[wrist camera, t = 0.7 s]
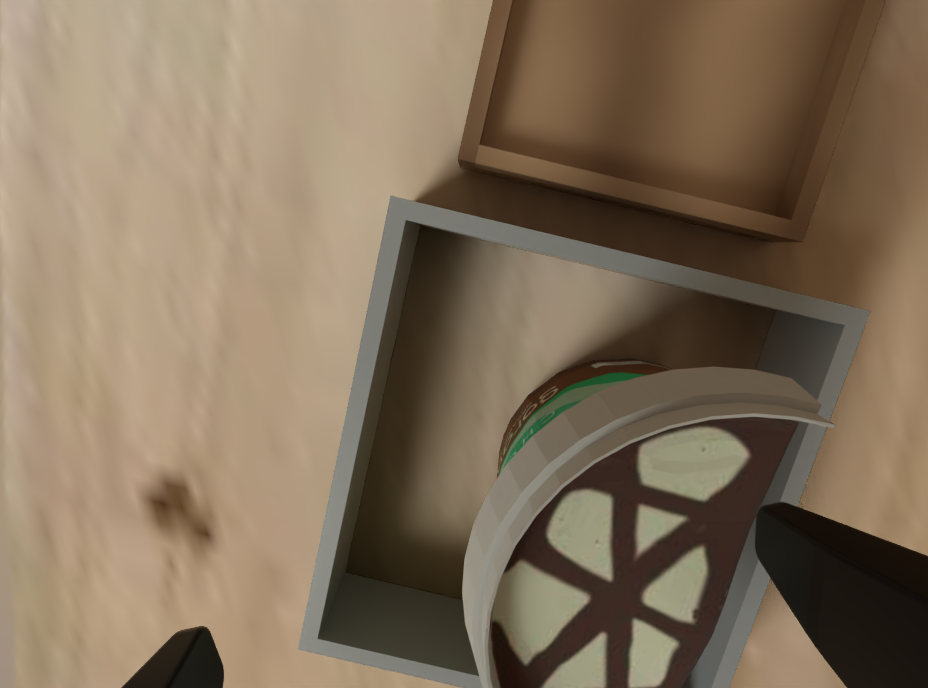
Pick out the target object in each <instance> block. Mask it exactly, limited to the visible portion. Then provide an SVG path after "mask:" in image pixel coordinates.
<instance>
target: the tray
mask: <svg viewBox="0 0 928 688" xmlns="http://www.w3.org/2000/svg"><path fill="white" fill-rule="evenodd" d="M884 3H885V0H493V3H492V7H491V12H490V16H489V21H488V25H487V30H486V34H485V39H484V43H483V48H482V52H481V57H480V61H479V66H478V70H477V75H476V79H475V84H474V88H473V93H472V97H471V102H470V106H469V111H468V115H467V120H466V124H465V128H464V133H463V137H462V142H461V146H460V151H459V155H458V161H459V165H460V167H461V168H465V169H469V170H473V171H477V172H481V173H485V174H490V175H494V176H498V177H502V178H506V179H510V180H515V181H519V182H523V183H527V184H531V185H535V186H539V187H544V188H548V189H552V190H556V191H560V192H564V193H568V194H573V195H577V196H581V197H585V198H589V199H593V200H598V201H602V202H606V203H610V204H614V205H618V206H622V207H627V208H631V209H635V210H639V211H643V212H647V213H651V214H656V215H660V216H664V217H668V218H672V219H676V220H681V221H685V222H689V223H693V224H697V225H701V226H705V227H710V228H714V229H718V230H722V231H726V232H730V233H735V234H739V235H743V236H747V237H751V238H755V239H759V240H764V241H768V242H803V239H804V236H805V233H806V230H807V227H808V224H809V221H810V219H811V216H812V213H813V210H814V207H815V204H816V201H817V198H818V195H819V192H820V189H821V187H822V184H823V181H824V178H825V175H826V172H827V169H828V166H829V163H830V160H831V157H832V155H833V152H834V149H835V146H836V143H837V140H838V137H839V134H840V131H841V128H842V125H843V123H844V120H845V117H846V114H847V111H848V108H849V105H850V102H851V99H852V96H853V93H854V91H855V88H856V85H857V82H858V79H859V76H860V73H861V70H862V67H863V64H864V62H865V59H866V56H867V53H868V50H869V47H870V44H871V41H872V38H873V35H874V32H875V30H876V27H877V24H878V21H879V18H880V15H881V12H882V9H883V6H884Z"/></svg>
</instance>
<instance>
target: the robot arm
mask: <svg viewBox="0 0 928 688" xmlns="http://www.w3.org/2000/svg"><path fill="white" fill-rule="evenodd" d="M755 551H756V554H757V557H758V559H759V561H760V563H761V564H762V566H763V567H764V569H765V570H766V572H767V574H768V575H769V577H770V578H771V580H772V581H773V583H774V584H775V586H776V587H777V589H778V590H779V592H780V594H781V595H782V597H783V598H784V600H785V601H786V603H787V604H788V606H789V607H790V609H791V610H792V612H793V614H794V615H795V617H796V618H797V620H798V621H799V623H800V624H801V626H802V627H803V629H804V630H805V632H806V634H807V635H808V636H809V638H810V639H811V641H812V642H813V644H814V645H815V647H816V648H817V649H818V651H819V652H820V653H821V655H822V656H823V657H824V659H825V660H826V661H827V663H828V664H829V665H830V666H831V668H832V669H833V670H834V671H835V673H836V674H837V675H838V677H839V678H840V679H841V680H842V682H843V683H844V684H845V686H846V687H847V688H928V556H926V555H924V554H921V553H918V552H916V551H913V550H910V549H908V548H905V547H903V546H900V545H897V544H895V543H892V542H889V541H887V540H884V539H881V538H879V537H876V536H873V535H871V534H868V533H865V532H863V531H860V530H858V529H855V528H852V527H850V526H847V525H844V524H842V523H839V522H836V521H834V520H831V519H828V518H826V517H823V516H820V515H818V514H815V513H812V512H810V511H807V510H805V509H802V508H799V507H797V506H794V505H791V504H789V503H786V502H776V503H772V504H767V505H763V506H760V507H759V508H758V510H757V512H756V526H755ZM223 682H224V669H223V664H222V661H221V659H220V656H219V653H218V651H217V648H216V646H215V643H214V640H213V638H212V635H211V633H210V631H209V629H208V628H207V627H204V626H199V627H194V628H190V629H185V630H181V631H178V632H177V633H175V634H174V635H173V636H172V637H171V638H170V639H169V640H168V641H167V642H166V643H165V644H164V645H163V646H162V647H161V648H160V649H159V650H158V651H157V652H156V653H155V654H154V655H153V656H152V657H151V658H150V659H149V660H148V661H147V662H146V663H145V664H144V665H143V666H142V667H141V668H140V669H139V670H138V671H137V672H136V673H135V674H134V675H133V676H132V677H131V678H130V680H129V681H128V682H127V683H126V684H125V685H124V686H123V687H122V688H223Z"/></svg>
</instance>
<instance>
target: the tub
mask: <svg viewBox="0 0 928 688" xmlns="http://www.w3.org/2000/svg"><path fill="white" fill-rule="evenodd" d="M420 225H421V226H425V227H430V228H434V229H438V230H442V231H446V232H451V233H455V234H459V235H463V236H467V237H471V238H476V239H480V240H484V241H488V242H492V243H496V244H501V245H505V246H509V247H513V248H517V249H521V250H526V251H530V252H534V253H538V254H542V255H546V256H551V257H555V258H559V259H563V260H567V261H572V262H576V263H580V264H584V265H588V266H592V267H597V268H601V269H605V270H609V271H613V272H617V273H622V274H626V275H630V276H634V277H638V278H642V279H647V280H651V281H655V282H659V283H663V284H667V285H672V286H676V287H680V288H684V289H688V290H692V291H697V292H701V293H705V294H709V295H713V296H718V297H722V298H726V299H730V300H734V301H738V302H743V303H747V304H751V305H755V306H759V307H763V308H768V309H772V310H776V312H775V314H774V317H773V320H772V323H771V326H770V329H769V332H768V335H767V338H766V341H765V344H764V347H763V349H762V352H761V355H760V358H759V361H758V364H757V367H756V370H758V371H762V372H767V373H771V374H775V375H780V376H784V377H789V378H792V379H793V380H794V381H795V382H796V383H798V384H799V385H800V386H801V387H802V388H803V389H804V390H805V391H807V392H808V393H809V394H810V395H811V396H812V397H813V398H814V399H816V400H817V401H818V402H819V403H820V404H821V405H822V406H821V408H820V410H819V412H818V413H817V414H818V415H820V416H821V417H823V418H825V419H826V420H828V421H830V418H831V415H832V413H833V410H834V407H835V405H836V402H837V399H838V397H839V394H840V391H841V389H842V386H843V383H844V381H845V378H846V375H847V373H848V370H849V367H850V365H851V362H852V359H853V357H854V354H855V351H856V349H857V346H858V343H859V341H860V338H861V335H862V333H863V330H864V327H865V325H866V322H867V319H868V317H869V314H870V311H869V310H864V309H860V308H856V307H852V306H848V305H844V304H840V303H835V302H831V301H827V300H823V299H819V298H815V297H810V296H806V295H802V294H798V293H794V292H790V291H785V290H781V289H777V288H773V287H769V286H765V285H760V284H756V283H752V282H748V281H744V280H740V279H735V278H731V277H727V276H723V275H719V274H715V273H710V272H706V271H702V270H698V269H694V268H690V267H685V266H681V265H677V264H673V263H669V262H665V261H660V260H656V259H652V258H648V257H644V256H640V255H635V254H631V253H627V252H623V251H619V250H615V249H610V248H606V247H602V246H598V245H594V244H590V243H585V242H581V241H577V240H573V239H569V238H565V237H560V236H556V235H552V234H548V233H544V232H540V231H535V230H531V229H527V228H523V227H519V226H515V225H510V224H506V223H502V222H498V221H494V220H490V219H485V218H481V217H477V216H473V215H469V214H465V213H460V212H456V211H452V210H448V209H444V208H440V207H435V206H431V205H427V204H423V203H419V202H415V201H411V200H406V199H402V198H398V197H394V196H390V201H389V206H388V211H387V216H386V221H385V226H384V231H383V236H382V241H381V245H380V250H379V255H378V260H377V265H376V270H375V275H374V280H373V285H372V290H371V295H370V299H369V304H368V309H367V314H366V319H365V324H364V329H363V334H362V339H361V344H360V348H359V353H358V358H357V363H356V368H355V373H354V378H353V383H352V388H351V393H350V398H349V402H348V407H347V412H346V417H345V422H344V427H343V432H342V437H341V442H340V447H339V451H338V456H337V461H336V466H335V471H334V476H333V481H332V486H331V491H330V496H329V501H328V505H327V510H326V515H325V520H324V525H323V530H322V535H321V540H320V545H319V550H318V554H317V559H316V564H315V569H314V574H313V579H312V584H311V589H310V594H309V599H308V604H307V608H306V613H305V618H304V623H303V628H302V633H301V638H300V643H299V648H298V650H303V651H307V652H311V653H316V654H320V655H324V656H329V657H333V658H337V659H342V660H346V661H350V662H354V663H359V664H363V665H367V666H372V667H376V668H380V669H385V670H389V671H393V672H398V673H402V674H406V675H411V676H415V677H419V678H424V679H428V680H432V681H437V682H441V683H445V684H450V685H454V686H458V687H463V688H482V684H481V680H480V677H479V673H478V669H477V666H476V662H475V658H474V655H473V651H472V647H471V643H470V640H469V636H468V632H467V629H466V625H465V617H464V607H463V600H461V599H456V598H452V597H448V596H443V595H439V594H435V593H431V592H426V591H422V590H418V589H413V588H409V587H405V586H401V585H396V584H392V583H388V582H383V581H379V580H375V579H371V578H366V577H362V576H358V575H353V574H349V573H345V571H346V567H347V562H348V558H349V553H350V548H351V544H352V539H353V534H354V530H355V525H356V520H357V516H358V511H359V507H360V502H361V497H362V493H363V488H364V483H365V479H366V474H367V469H368V465H369V460H370V455H371V451H372V446H373V442H374V437H375V432H376V428H377V423H378V418H379V414H380V409H381V404H382V400H383V395H384V391H385V386H386V381H387V377H388V372H389V367H390V363H391V358H392V353H393V349H394V344H395V340H396V335H397V330H398V326H399V321H400V316H401V312H402V307H403V302H404V298H405V293H406V289H407V284H408V279H409V275H410V270H411V265H412V261H413V256H414V251H415V247H416V242H417V238H418V233H419V228H420ZM826 429H827V427H825V426H820V425H816V424H811V423H807V422H802V421H800V422H799V424H798V426H797V428H796V430H795V433H794V435H793V437H792V439H791V441H790V443H789V445H788V447H787V450H786V452H785V454H784V456H783V458H782V460H781V462H780V465H779V467H778V469H777V471H776V473H775V476H774V478H773V480H772V482H771V484H770V487H769V489H768V491H767V493H766V495H765V498H764V500H763V502H762V504H761V506H763V505H767V504H772V503H776V502H786V503H789V504H791V505H794V506H798V503H799V501H800V498H801V495H802V493H803V490H804V487H805V485H806V482H807V479H808V477H809V474H810V471H811V469H812V466H813V463H814V461H815V458H816V455H817V453H818V450H819V447H820V445H821V442H822V439H823V437H824V434H825V431H826ZM755 526H756V518H755V520H754V522H753V524H752V526H751V529H750V531H749V534H748V537H747V540H746V542H745V545H744V548H743V551H742V553H741V556H740V559H739V562H738V565H737V568H736V571H735V574H734V577H733V580H732V583H731V586H730V589H729V592H728V595H727V598H726V601H725V604H724V607H723V609H722V612H721V615H720V617H719V620H718V623H717V625H716V628H715V631H714V633H713V635H712V637H711V639H710V641H709V643H708V644H707V646H706V648H705V650H704V651H703V653H702V655H701V657H700V658H699V660H698V662H697V664H696V665H695V667H694V669H693V670H692V672H691V673H690V675H689V676H688V678H687V680H686V681H685V683H684V684H683V686H682V687H681V688H729V687H730V684H731V682H732V679H733V677H734V674H735V671H736V669H737V666H738V663H739V661H740V658H741V655H742V653H743V650H744V647H745V645H746V642H747V639H748V637H749V634H750V631H751V629H752V626H753V623H754V621H755V618H756V615H757V613H758V610H759V607H760V605H761V602H762V599H763V597H764V594H765V591H766V589H767V586H768V583H769V581H770V577H769V575H768V574H767V572H766V570H765V569H764V567H763V566H762V564H761V563H760V561H759V559H758V557H757V554H756V551H755Z"/></svg>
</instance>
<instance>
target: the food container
mask: <svg viewBox="0 0 928 688" xmlns="http://www.w3.org/2000/svg"><path fill="white" fill-rule="evenodd" d="M821 406H822V405H821V404H820V403H819V402H818V401H817V400H816V399H814V398H813V397H812V396H811V395H810V394H809V393H808V392H807V391H805V390H804V389H803V388H802V387H801V386H800V385H799V384H798V383H796V382H795V381H794V380H793V379H792V378H789V377H784V376H780V375H775V374H771V373H767V372H762V371H758V370H752V369H739V368H726V367H701V368H688V369H671V368H668V367H665V366H662V365H658V364H653V363H649V362H645V361H640V360H636V359H618V360H596V361H591V362H588V363H585V364H583V365H580V366H577V367H574V368H571V369H569V370H566V371H563V372H560V373H557V374H556V375H555V376H553V377H552V378H551V379H549V380H548V381H547V382H545V383H544V384H543V385H541V386H540V387H539V388H538V389H536V390H535V391H534V392H532V393H531V394H530V395H528V396H527V397H526V399H525V400H524V402H523V403H522V404H521V406H520V407H519V409H518V410H517V411H516V413H515V414H514V415H513V417H512V418H511V420H510V422H509V425H508V427H507V429H506V431H505V433H504V436H503V440H502V444H501V448H500V452H499V462H498V472H497V479H496V481H495V482H494V484H493V485H492V487H491V488H490V490H489V492H488V493H487V495H486V497H485V500H484V502H483V504H482V506H481V508H480V511H479V513H478V515H477V517H476V520H475V522H474V524H473V527H472V531H471V535H470V539H469V543H468V547H467V551H466V555H465V559H464V572H463V585H462V596H463V607H464V617H465V625H466V629H467V632H468V636H469V640H470V643H471V647H472V651H473V655H474V658H475V662H476V666H477V669H478V673H479V677H480V680H481V684H482V688H681V687H682V686H683V684H684V683H685V681H686V680H687V678H688V676H689V675H690V673H691V672H692V670H693V669H694V667H695V665H696V664H697V662H698V660H699V658H700V657H701V655H702V653H703V651H704V650H705V648H706V646H707V644H708V643H709V641H710V639H711V637H712V635H713V633H714V631H715V628H716V625H717V623H718V620H719V617H720V615H721V612H722V609H723V607H724V604H725V601H726V598H727V595H728V592H729V589H730V586H731V583H732V580H733V577H734V574H735V571H736V568H737V565H738V562H739V559H740V556H741V553H742V551H743V548H744V545H745V542H746V540H747V537H748V534H749V531H750V529H751V526H752V524H753V522H754V520H755V518H756V512H757V510H758V508H759V507H760V506H761V504H762V502H763V500H764V498H765V495H766V493H767V491H768V489H769V487H770V484H771V482H772V480H773V478H774V476H775V473H776V471H777V469H778V467H779V465H780V462H781V460H782V458H783V456H784V454H785V452H786V450H787V447H788V445H789V443H790V441H791V439H792V437H793V435H794V433H795V430H796V428H797V426H798V424H799V422H800V421H802V422H807V423H811V424H816V425H820V426H825V427H829V428H835V424H833V423H832V422H830V421H828V420H826V419H825V418H823V417H821V416H820V415H818V414H817V413H818V412H819V410H820V408H821Z"/></svg>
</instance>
